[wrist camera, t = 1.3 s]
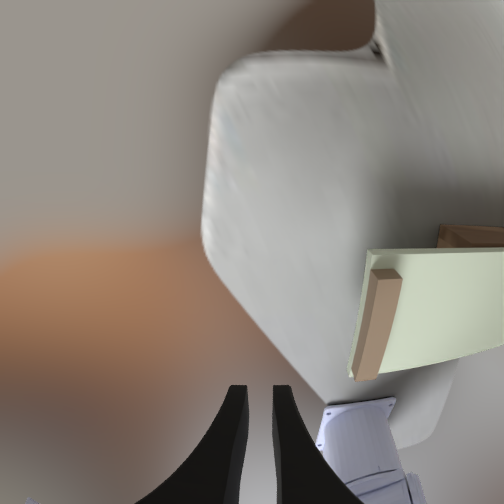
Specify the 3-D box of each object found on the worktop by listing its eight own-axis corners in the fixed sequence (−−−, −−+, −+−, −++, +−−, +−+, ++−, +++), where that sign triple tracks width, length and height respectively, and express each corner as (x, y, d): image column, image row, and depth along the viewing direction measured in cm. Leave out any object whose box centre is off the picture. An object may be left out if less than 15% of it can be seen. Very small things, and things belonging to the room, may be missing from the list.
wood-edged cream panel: (501, 338, 16) (512, 351, 14) (346, 369, 17) (352, 390, 15) (532, 247, 13) (547, 256, 11) (367, 249, 14) (380, 264, 12)
